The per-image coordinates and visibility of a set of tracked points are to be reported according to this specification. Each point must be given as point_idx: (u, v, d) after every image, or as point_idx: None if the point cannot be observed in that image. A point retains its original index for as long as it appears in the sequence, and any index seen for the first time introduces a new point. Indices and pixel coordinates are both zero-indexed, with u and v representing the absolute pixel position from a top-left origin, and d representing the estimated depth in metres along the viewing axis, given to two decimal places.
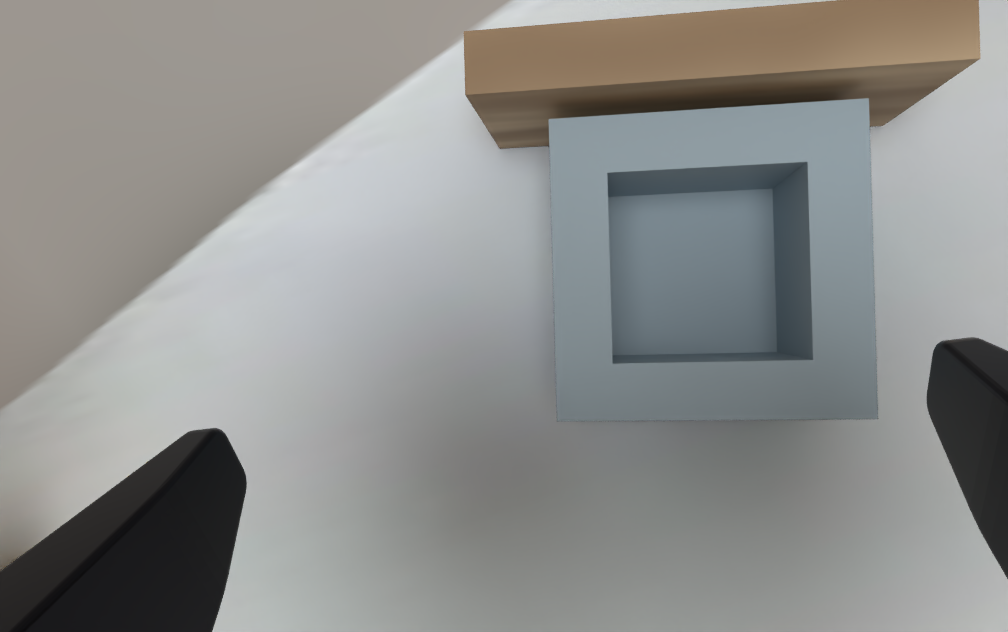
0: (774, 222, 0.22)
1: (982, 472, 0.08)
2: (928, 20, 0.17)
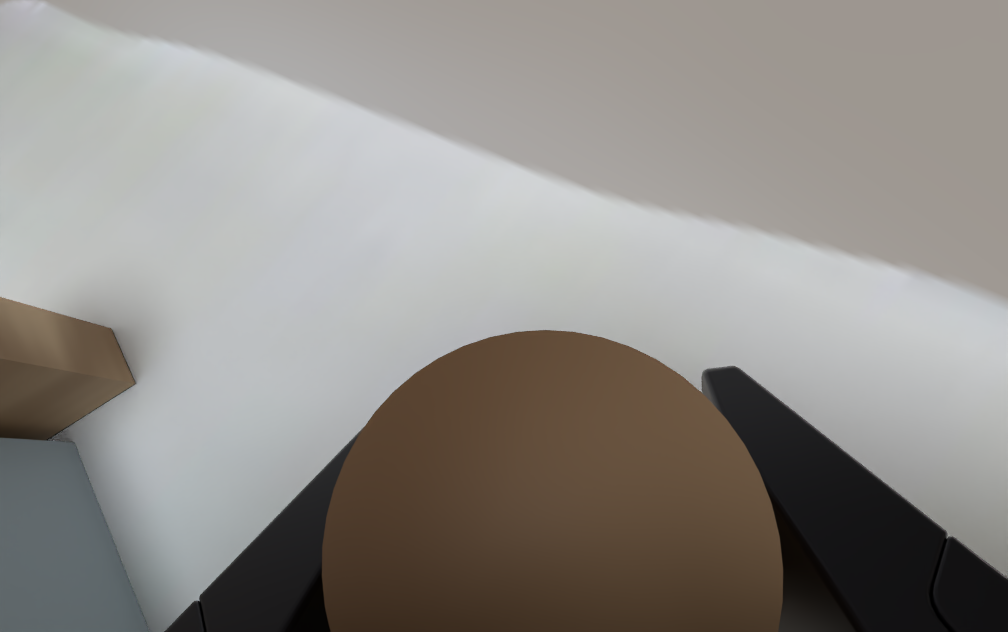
0: None
1: None
2: None
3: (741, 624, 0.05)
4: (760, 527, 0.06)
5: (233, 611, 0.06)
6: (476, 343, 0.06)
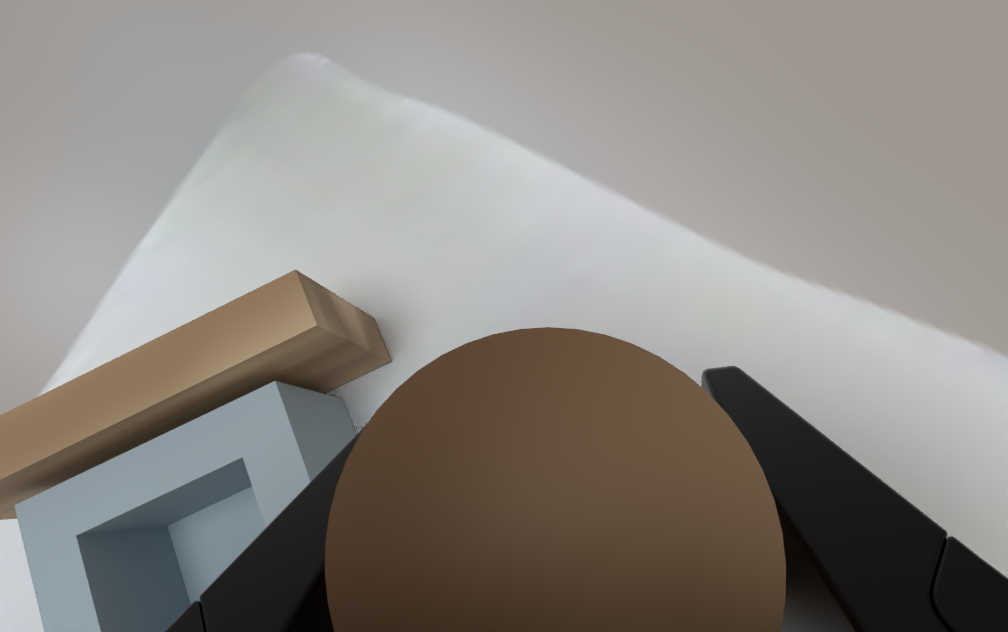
0: None
1: None
2: (266, 310, 0.19)
3: (744, 620, 0.05)
4: (763, 524, 0.06)
5: (233, 611, 0.06)
6: (480, 340, 0.06)
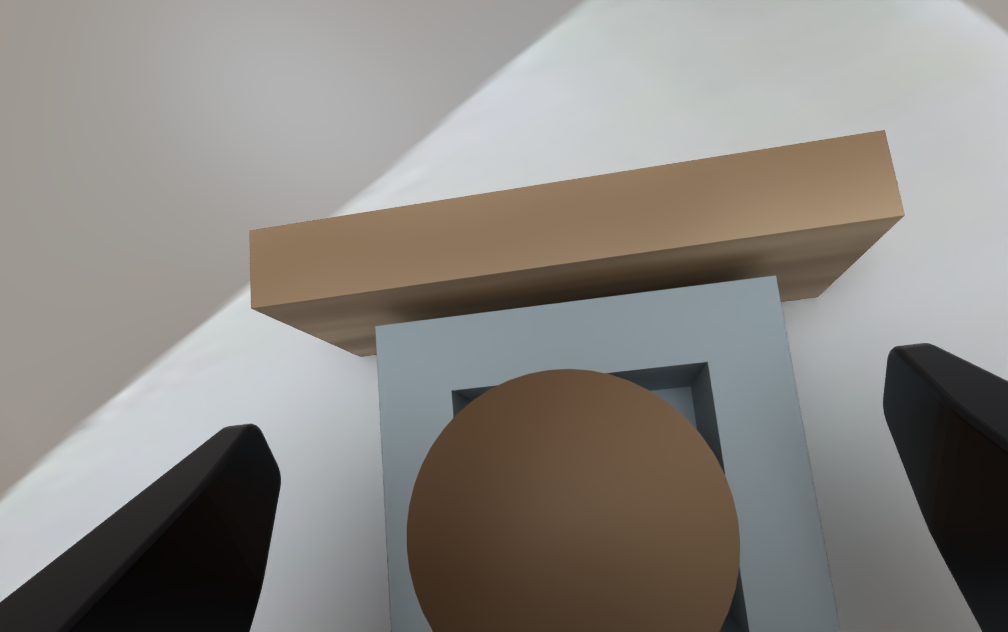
0: (697, 429, 0.17)
1: (931, 477, 0.08)
2: (827, 173, 0.13)
3: (710, 580, 0.08)
4: (724, 512, 0.08)
5: (7, 630, 0.06)
6: (518, 377, 0.08)
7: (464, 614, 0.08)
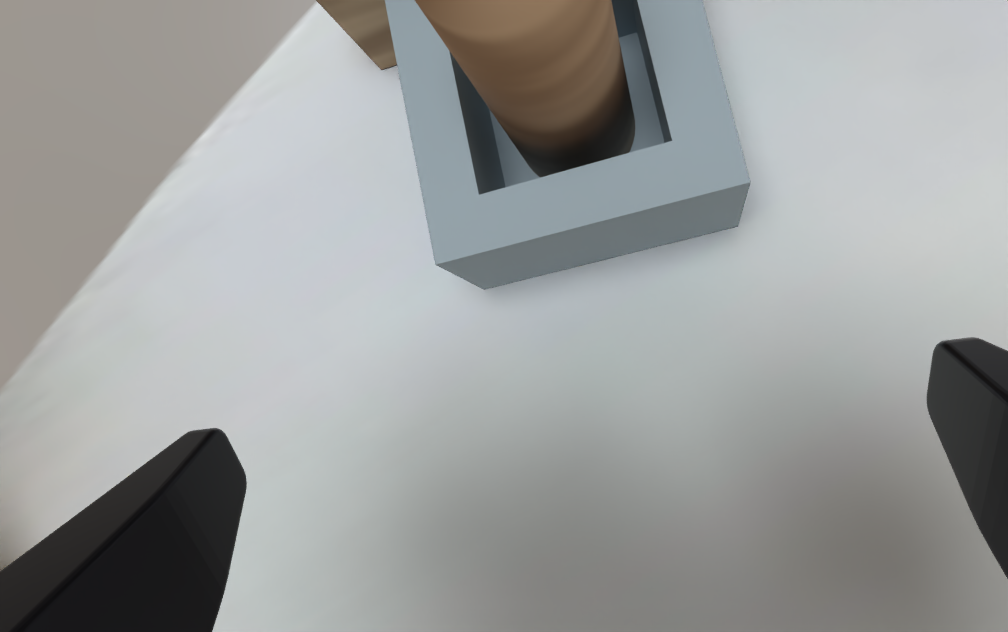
0: (644, 61, 0.22)
1: (982, 472, 0.08)
2: None
3: None
4: None
5: None
6: None
7: None
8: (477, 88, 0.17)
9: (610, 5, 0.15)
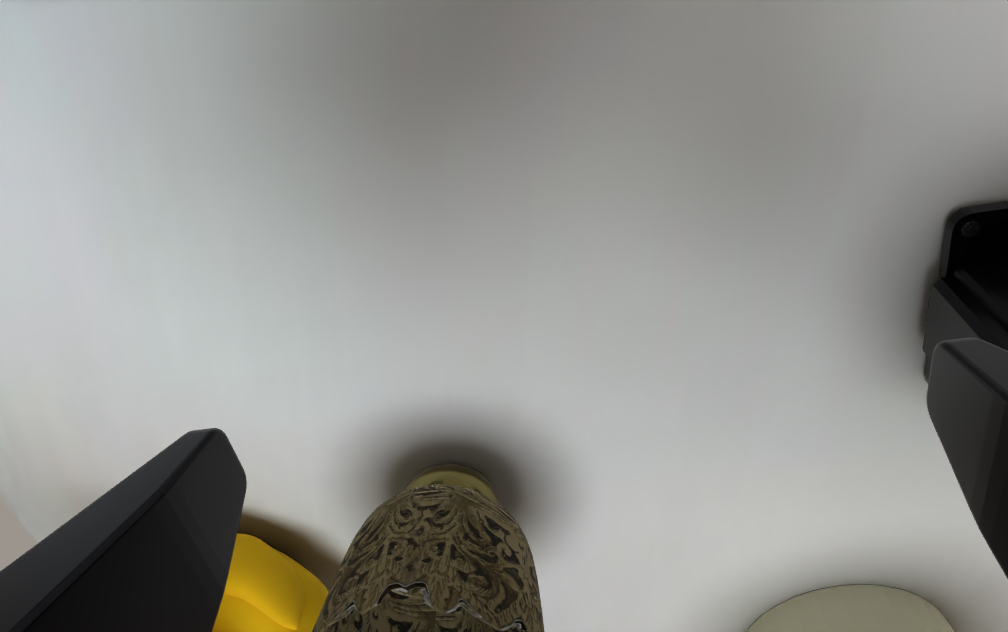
0: None
1: (982, 472, 0.08)
2: None
3: None
4: None
5: None
6: None
7: None
8: None
9: None
